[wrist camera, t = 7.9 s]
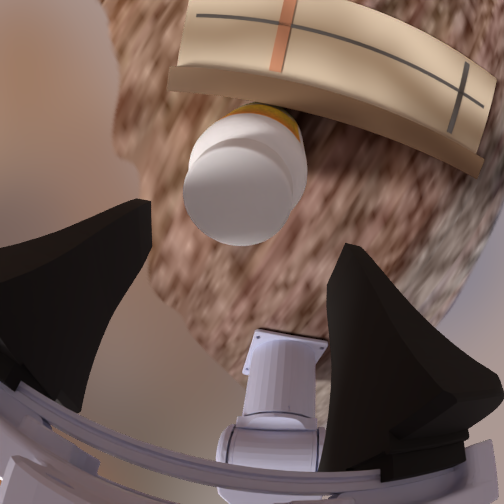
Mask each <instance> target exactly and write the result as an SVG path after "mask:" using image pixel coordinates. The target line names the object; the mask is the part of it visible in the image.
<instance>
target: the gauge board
mask: <svg viewBox="0 0 504 504" xmlns="http://www.w3.org/2000/svg"><path fill="white" fill-rule="evenodd" d="M496 81H497V79H496V78H495V77H493V76H492V75H491V74H489V73H488V72H487V71H485V70H484V69H483V68H481V67H480V66H479V65H477V64H476V63H474V62H473V61H471V60H470V59H469V58H467V57H466V56H464V55H462V54H461V53H459V52H458V51H456V50H455V49H453V48H451V47H450V46H448V45H446V44H445V43H443V42H441V41H439V40H438V39H436V38H434V37H432V36H430V35H429V34H427V33H425V32H423V31H421V30H419V29H417V28H415V27H413V26H411V25H409V24H406V23H404V22H402V21H400V20H398V19H395V18H393V17H391V16H388V15H386V14H383V13H381V12H378V11H376V10H373V9H370V8H368V7H365V6H362V5H359V4H356V3H353V2H350V1H347V0H189V4H188V8H187V13H186V18H185V23H184V28H183V34H182V39H181V45H180V51H179V57H178V64H177V66H170V67H169V74H168V82H167V90H166V91H174V92H187V93H198V94H207V95H216V96H223V97H231V98H237V99H244V100H250V101H255V102H261V103H266V104H271V105H276V106H281V107H285V108H290V109H294V110H298V111H302V112H306V113H310V114H314V115H318V116H322V117H325V118H329V119H332V120H336V121H339V122H342V123H346V124H349V125H352V126H355V127H358V128H361V129H364V130H367V131H370V132H373V133H376V134H378V135H381V136H384V137H386V138H389V139H392V140H394V141H397V142H399V143H402V144H404V145H407V146H409V147H412V148H414V149H416V150H419V151H421V152H423V153H425V154H428V155H430V156H432V157H434V158H436V159H439V160H441V161H443V162H445V163H447V164H449V165H451V166H453V167H455V168H457V169H459V170H461V171H463V172H464V173H466V174H468V175H470V176H472V177H474V178H475V179H477V178H478V175H479V173H480V170H481V168H482V165H483V163H484V160H485V159H483V158H481V157H480V156H478V155H477V154H476V152H477V150H478V147H479V144H480V141H481V138H482V135H483V131H484V128H485V125H486V121H487V118H488V114H489V111H490V107H491V103H492V99H493V95H494V90H495V86H496Z"/></svg>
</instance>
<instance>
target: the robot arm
mask: <svg viewBox="0 0 504 504" xmlns="http://www.w3.org/2000/svg"><path fill="white" fill-rule="evenodd" d="M151 248H152V228H151V201H148V200H142V199H134V200H130V201H128V202H125V203H122V204H120V205H117V206H115V207H113V208H111V209H109V210H106V211H104V212H102V213H99V214H97V215H95V216H93V217H91V218H88V219H86V220H83V221H81V222H79V223H76V224H74V225H72V226H70V227H67V228H65V229H62V230H59V231H57V232H54V233H51V234H48V235H45V236H42V237H39V238H36V239H32V240H29V241H26V242H22V243H19V244H15V245H11V246H7V247H3V248H0V479H1V480H2V482H1V486H0V504H179V503H175V502H171V501H168V500H164V499H161V498H158V497H154V496H151V495H148V494H145V493H142V492H139V491H136V490H134V489H131V488H128V487H125V486H123V485H120V484H118V483H116V482H113V481H111V480H108V479H106V478H104V477H102V476H99V475H98V474H97V471H98V468H99V465H100V461H99V460H98V459H97V458H95V457H93V456H91V455H89V454H88V453H86V452H84V451H83V450H81V449H80V448H78V447H77V446H76V445H74V444H73V443H72V442H70V441H68V440H66V439H65V438H63V437H62V436H60V435H58V434H57V433H55V432H53V431H52V427H51V426H50V425H52V426H54V427H55V428H57V429H59V430H61V431H62V432H64V433H66V434H68V435H70V436H71V437H73V438H75V439H77V440H79V441H81V442H83V443H85V444H87V445H89V446H91V447H93V448H96V449H98V450H100V451H102V452H104V453H107V454H109V455H111V456H114V457H116V458H119V459H121V460H124V461H126V462H129V463H131V464H134V465H137V466H140V467H142V468H145V469H149V470H151V471H155V472H158V473H161V474H164V475H168V476H171V477H175V478H178V479H183V480H186V481H191V482H194V483H199V484H203V485H208V486H213V487H217V489H218V494H219V495H220V496H221V497H222V498H223V499H224V500H225V501H227V502H228V503H229V504H490V503H492V502H494V501H495V500H497V499H498V497H499V495H498V481H497V471H496V463H495V456H494V451H493V444H492V440H491V439H489V440H486V441H483V442H480V443H477V444H474V445H471V446H469V447H466V448H465V447H464V441H466V440H467V439H468V438H469V432H468V429H469V428H470V427H472V426H473V425H475V424H476V423H478V422H479V421H481V420H482V419H483V418H485V417H486V416H488V415H489V414H490V413H492V412H493V411H494V410H495V409H496V408H497V407H498V406H499V405H500V404H501V402H502V401H503V399H504V391H503V388H502V385H501V381H500V379H499V377H498V375H497V374H496V373H494V372H493V371H491V370H490V369H488V368H486V367H485V366H483V365H482V364H480V363H478V362H477V361H475V360H474V359H473V358H471V357H470V356H469V355H467V354H466V353H465V352H463V351H462V350H460V349H459V348H458V347H457V346H455V345H454V344H453V343H452V342H450V341H449V340H448V339H447V338H446V337H445V336H444V335H442V334H441V333H440V332H439V331H438V330H437V329H436V328H434V327H433V326H432V325H431V324H430V323H429V322H428V321H427V320H426V319H425V318H424V317H423V316H422V315H421V314H420V313H419V312H418V311H417V310H416V309H415V308H414V307H413V306H412V305H411V304H410V303H409V301H408V300H407V299H406V298H405V297H404V296H403V295H402V294H401V292H400V291H399V290H398V289H397V288H396V287H395V285H394V284H393V283H392V282H391V281H390V280H389V278H388V277H387V276H386V275H385V274H384V272H383V271H382V270H381V269H380V268H379V266H378V265H377V264H376V263H375V262H374V260H373V259H372V258H371V257H370V256H369V255H368V254H367V253H366V251H365V250H364V249H363V248H361V247H360V246H356V245H352V244H348V243H345V245H344V247H343V250H342V252H341V254H340V257H339V259H338V261H337V263H336V266H335V268H334V270H333V273H332V275H331V277H330V279H329V281H328V284H327V318H328V328H329V338H330V348H331V362H332V375H331V393H330V404H329V414H328V421H327V428H326V430H325V428H324V427H318V429H317V418H315V391H316V381H315V365H316V363H317V362H318V360H319V359H320V357H321V356H322V354H323V353H324V351H325V350H326V348H327V347H328V342H327V341H324V340H318V339H312V338H306V337H300V336H294V335H288V334H283V333H277V332H272V331H267V330H262V329H257V330H255V333H254V336H253V339H252V342H251V345H250V349H249V352H248V355H247V358H246V361H245V364H244V368H243V371H242V373H243V374H245V375H249V377H248V383H247V390H246V396H245V402H244V408H243V414H242V416H238V417H237V422H236V424H231V425H229V426H228V427H227V428H226V429H225V430H224V431H223V432H222V434H221V436H220V439H219V442H218V447H217V453H216V461H212V460H207V459H203V458H199V457H195V456H190V455H186V454H183V453H179V452H175V451H172V450H168V449H165V448H162V447H158V446H155V445H152V444H149V443H146V442H143V441H140V440H138V439H135V438H132V437H129V436H127V435H124V434H122V433H119V432H117V431H114V430H112V429H109V428H107V427H105V426H102V425H100V424H98V423H95V422H94V421H91V420H89V419H87V418H85V417H83V416H81V415H79V414H77V413H79V412H81V408H82V403H83V398H84V394H85V390H86V385H87V381H88V378H89V375H90V371H91V368H92V365H93V362H94V358H95V356H96V353H97V350H98V347H99V345H100V342H101V339H102V337H103V335H104V332H105V330H106V328H107V326H108V323H109V321H110V319H111V317H112V315H113V313H114V311H115V310H116V308H117V306H118V305H119V303H120V301H121V300H122V298H123V297H124V295H125V293H126V292H127V290H128V289H129V287H130V286H131V284H132V283H133V281H134V279H135V278H136V276H137V275H138V273H139V272H140V270H141V268H142V267H143V265H144V263H145V261H146V259H147V256H148V254H149V252H150V250H151ZM325 495H332V496H331V497H329V498H328V499H324V500H321V499H322V496H325Z"/></svg>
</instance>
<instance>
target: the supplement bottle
mask: <svg viewBox="0 0 504 504" xmlns="http://www.w3.org/2000/svg"><path fill="white" fill-rule="evenodd" d="M306 182H307V160H306V155H305V150H304V144H303V139H302V135H301V131H300V128H299V126H298V124H297V122H296V121H295V119H294V118H293V117H292V116H291V115H290V114H289V113H288V112H287V111H286V110H284V109H283V108H281V107H279V106H276V105H271V104H266V103H261V102H254V103H249V104H246V105H243V106H241V107H239V108H237V109H235V110H234V111H232V112H231V113H229V114H227V115H226V116H224V117H223V118H221V119H220V120H218V121H217V122H215V123H214V124H212V125H211V126H210V127H209V128H208V129H207V130H206V131H205V132H204V133H203V134H202V135H201V136H200V137H199V139H198V140H197V142H196V144H195V145H194V148H193V150H192V153H191V156H190V161H189V171H188V173H187V175H186V178H185V181H184V186H183V199H184V204H185V208H186V210H187V213H188V215H189V216H190V218H191V220H192V221H193V223H194V224H195V225H196V226H197V227H198V228H199V229H200V230H201V231H202V232H203V233H204V234H206V235H207V236H209V237H210V238H212V239H214V240H216V241H219V242H221V243H224V244H228V245H234V246H248V245H254V244H258V243H261V242H263V241H266V240H267V239H269V238H271V237H272V236H274V235H275V234H276V233H277V232H278V231H279V230H280V229H281V228H282V227H283V226H284V224H285V223H286V221H287V219H288V217H289V214H290V211H291V210H292V209H293V208H294V207H295V206H296V205H297V203H298V202H299V200H300V199H301V197H302V195H303V192H304V189H305V186H306Z"/></svg>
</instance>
